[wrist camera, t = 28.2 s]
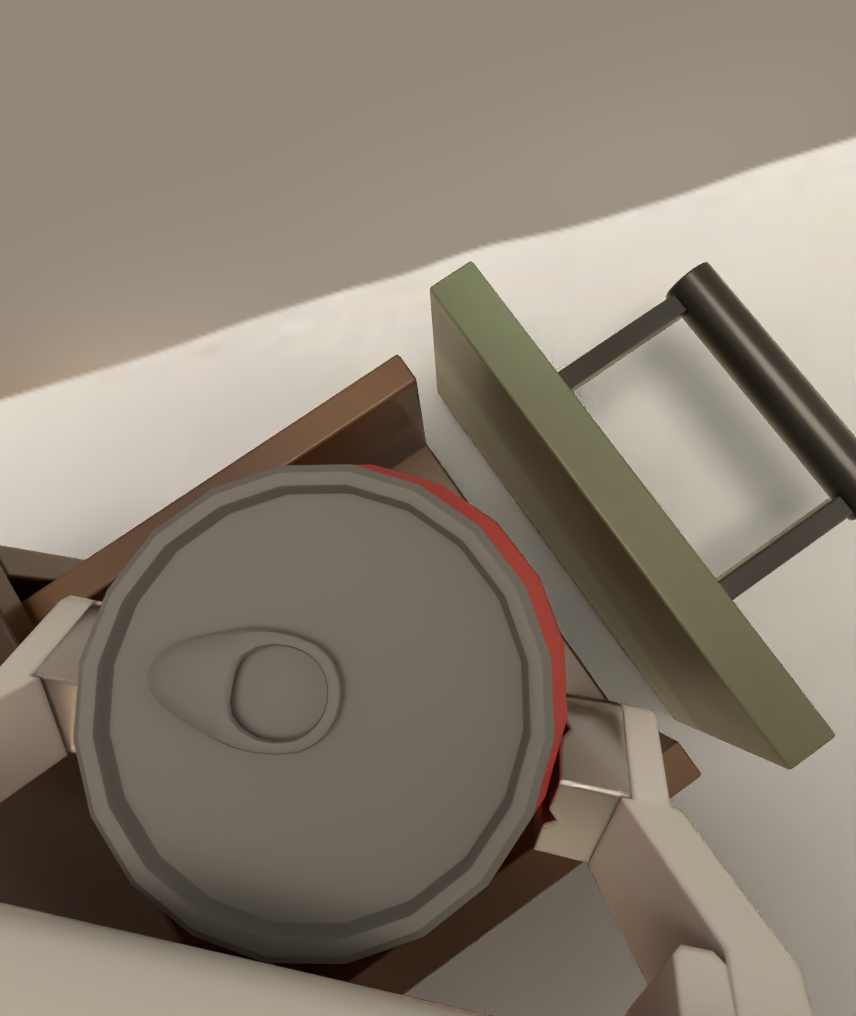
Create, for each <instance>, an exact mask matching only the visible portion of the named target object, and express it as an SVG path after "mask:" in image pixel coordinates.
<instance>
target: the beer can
mask: <svg viewBox="0 0 856 1016" xmlns="http://www.w3.org/2000/svg"><path fill="white" fill-rule="evenodd" d="M566 721H567V698H566V676H565V654H564V643H563V640H562V637H561V635H560V632H559V629H558V626H557V624H556V621H555V618H554V616H553V613H552V610H551V607H550V605H549V602H548V599H547V596H546V594H545V591H544V588H543V586H542V583H541V580H540V577H539V576H538V575H537V574H536V572H535V571H534V570H533V568H532V567H531V566H530V565H529V563H528V562H527V561H526V559H525V558H524V557H523V556H522V554H521V553H520V552H519V550H518V549H517V548H516V546H515V545H514V544H513V543H512V541H511V540H510V539H509V537H508V536H507V535H506V534H505V532H504V531H503V530H502V528H501V527H500V526H499V525H498V523H497V522H495V521H494V520H492V519H491V518H489V517H488V516H486V515H485V514H484V513H482V512H481V511H479V510H478V509H476V508H475V507H473V506H472V505H470V504H469V503H467V502H466V501H465V500H463V499H462V498H460V497H459V496H457V495H456V494H454V493H453V492H451V491H450V490H449V489H447V488H446V487H444V486H443V485H441V484H437V483H434V482H431V481H427V480H424V479H421V478H417V477H414V476H410V475H407V474H404V473H400V472H397V471H394V470H390V469H387V468H384V467H380V466H376V465H371V464H370V465H352V464H339V465H289V466H278V467H275V468H272V469H269V470H266V471H263V472H260V473H257V474H254V475H251V476H248V477H245V478H242V479H239V480H236V481H233V482H230V483H227V484H224V485H221V486H218V487H215V488H212V489H211V490H210V491H208V492H207V493H205V494H204V495H203V496H201V497H200V498H198V499H197V500H196V501H194V502H193V503H191V504H190V505H189V506H187V507H186V508H184V509H183V510H182V511H180V512H179V513H177V514H176V515H175V516H173V517H172V518H170V519H169V520H168V521H166V522H165V523H163V524H162V525H161V526H159V527H158V528H156V529H155V530H154V531H152V533H151V534H150V535H149V537H148V538H147V539H146V541H145V542H144V543H143V544H142V546H141V547H140V548H139V550H138V551H137V552H136V553H135V555H134V556H133V557H132V559H131V560H130V561H129V562H128V564H127V565H126V566H125V568H124V569H123V570H122V572H121V573H120V574H119V575H118V577H117V578H116V579H115V581H114V582H113V583H112V584H111V586H110V587H109V588H108V590H107V591H106V594H105V597H104V599H103V602H102V604H101V607H100V609H99V612H98V615H97V617H96V620H95V622H94V625H93V628H92V630H91V633H90V635H89V638H88V640H87V643H86V646H85V648H84V651H83V653H82V656H81V658H80V661H79V671H78V684H77V696H76V709H75V722H74V734H73V741H74V746H75V750H76V754H77V759H78V763H79V768H80V772H81V777H82V781H83V785H84V790H85V794H86V799H87V803H88V808H89V812H90V816H91V818H92V820H93V821H94V823H95V825H96V826H97V828H98V830H99V831H100V833H101V835H102V836H103V838H104V840H105V841H106V843H107V845H108V846H109V848H110V850H111V852H112V853H113V855H114V857H115V858H116V860H117V862H118V863H119V865H120V867H121V868H122V870H123V872H124V873H125V875H126V877H127V878H128V880H129V882H130V883H131V885H133V886H134V887H135V888H136V889H137V890H138V891H140V892H141V893H142V894H143V895H144V896H146V897H147V898H148V899H149V900H150V901H151V902H153V903H154V904H155V905H156V906H157V907H159V908H160V909H161V910H162V911H163V912H164V913H166V914H167V915H168V916H169V917H170V918H171V919H173V920H174V921H175V922H176V923H177V924H179V925H180V926H181V927H182V928H183V929H184V930H186V931H187V932H188V933H189V934H190V935H192V936H195V937H197V938H200V939H203V940H205V941H208V942H211V943H213V944H216V945H219V946H221V947H224V948H227V949H229V950H232V951H235V952H237V953H240V954H243V955H245V956H248V957H251V958H253V959H256V960H259V961H261V962H264V963H293V964H348V963H351V962H353V961H356V960H359V959H362V958H365V957H368V956H371V955H373V954H376V953H379V952H382V951H385V950H388V949H390V948H393V947H396V946H399V945H402V944H405V943H408V942H410V941H413V940H416V939H419V938H422V937H424V936H425V935H426V934H428V933H429V932H430V931H431V930H433V929H434V928H435V927H437V926H438V925H439V924H440V923H442V922H443V921H444V920H445V919H447V918H448V917H449V916H450V915H452V914H453V913H454V912H455V911H457V910H458V909H459V908H460V907H462V906H463V905H464V904H465V903H467V902H468V901H469V900H470V899H472V898H473V897H474V896H475V895H477V894H478V893H479V892H480V891H482V890H483V889H484V888H485V887H487V886H488V885H489V883H490V882H491V880H492V879H493V877H494V875H495V874H496V872H497V871H498V869H499V868H500V866H501V865H502V863H503V862H504V860H505V859H506V857H507V855H508V854H509V852H510V851H511V849H512V848H513V846H514V845H515V843H516V842H517V840H518V839H519V837H520V835H521V834H522V832H523V831H524V829H525V828H526V826H527V825H528V823H529V822H530V820H531V819H532V817H533V815H534V813H535V812H536V810H537V809H538V807H539V806H540V804H541V803H542V801H543V800H544V798H545V796H546V793H547V791H548V788H549V784H550V780H551V776H552V772H553V768H554V764H555V761H556V757H557V753H558V749H559V745H560V742H561V738H562V736H563V732H564V728H565V724H566Z"/></svg>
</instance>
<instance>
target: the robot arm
mask: <svg viewBox="0 0 856 1016" xmlns="http://www.w3.org/2000/svg"><path fill="white" fill-rule="evenodd" d="M101 604H102V602H101V601H96V600H91V599H86V598H81V597H77V596H72V595H70V596H68V597H66V598H64V599H62V600H60V601H59V602H58V603H57V604H56V605H55V606H54V608H53V609H52V610H51V611H50V612H49V613H48V614H47V615H46V616H45V617H44V619H43V620H42V621H41V622H40V623H39V624H38V625H37V626H36V627H35V629H34V630H33V631H32V632H31V633H30V634H29V635H28V636H27V637H26V639H25V640H24V641H23V642H22V643H21V644H20V645H19V646H18V647H17V648H16V650H15V651H14V652H13V653H12V654H11V655H10V656H9V657H8V658H7V660H6V661H5V662H4V663H3V664H2V665H1V666H0V803H1V802H2V801H3V800H5V799H6V798H8V797H9V796H10V795H12V794H13V793H15V792H16V791H18V790H19V789H20V788H22V787H23V786H25V785H26V784H27V783H29V782H30V781H32V780H33V779H35V778H36V777H37V776H39V775H40V774H42V773H43V772H44V771H46V770H47V769H49V768H50V767H51V766H53V765H54V764H56V763H57V762H59V761H60V760H61V759H63V758H64V757H66V756H67V752H70V753H76V750H75V746H74V741H73V734H74V722H75V709H76V696H77V684H78V671H79V661H80V658H81V656H82V653H83V651H84V648H85V646H86V643H87V640H88V638H89V635H90V633H91V630H92V628H93V625H94V622H95V620H96V617H97V615H98V612H99V609H100V607H101ZM566 698H567V721H566V724H565V728H564V732H563V736H562V738H561V742H560V745H559V749H558V753H557V757H556V761H555V764H554V768H553V772H552V776H551V780H550V784H549V788H548V791H547V793H546V796H545V798H544V800H543V801H542V803H541V804H540V806H539V807H538V809H537V810H536V812H535V813H534V850H537V851H541V852H545V853H550V854H554V855H558V856H562V857H566V858H570V859H575V860H579V861H583V862H587V863H589V864H588V867H589V869H590V871H591V873H592V875H593V877H594V879H595V881H596V883H597V885H598V887H599V889H600V891H601V893H602V895H603V897H604V899H605V901H606V903H607V905H608V907H609V909H610V911H611V912H612V914H613V916H614V918H615V920H616V922H617V924H618V926H619V928H620V930H621V932H622V934H623V936H624V938H625V940H626V942H627V944H628V946H629V948H630V950H631V952H632V954H633V956H634V958H635V960H636V962H637V964H638V966H639V968H640V970H641V972H642V974H643V976H644V978H645V980H646V982H647V983H648V986H647V987H646V988H645V990H644V991H643V992H642V993H641V995H640V996H639V997H638V999H637V1000H636V1001H635V1002H634V1004H633V1005H632V1006H631V1007H630V1009H629V1010H628V1011H627V1012H626V1014H625V1015H624V1016H813V1014H812V1010H811V1006H810V1002H809V999H808V995H807V991H806V987H805V984H804V980H803V976H802V972H801V968H800V967H799V966H798V964H797V963H796V962H795V960H794V959H793V958H792V956H791V955H790V954H789V952H788V951H787V950H786V948H785V947H784V946H783V944H782V943H781V942H780V940H779V939H778V938H777V937H776V935H775V934H774V933H773V931H772V930H771V929H770V927H769V926H768V925H767V923H766V922H765V921H764V919H763V918H762V917H761V915H760V914H759V913H758V911H757V910H756V909H755V907H754V906H753V905H752V903H751V902H750V901H749V899H748V898H747V897H746V895H745V894H744V893H743V891H742V890H741V889H740V888H739V886H738V885H737V884H736V882H735V881H734V880H733V878H732V877H731V876H730V874H729V873H728V872H727V870H726V869H725V868H724V866H723V865H722V864H721V862H720V861H719V860H718V858H717V857H716V856H715V854H714V853H713V852H712V850H711V849H710V848H709V846H708V845H707V844H706V842H705V841H704V840H703V839H702V837H701V836H700V835H699V833H698V832H697V831H696V829H695V828H694V827H693V825H692V824H691V823H690V821H689V820H688V819H687V817H686V816H685V815H684V813H683V812H682V811H681V809H677V808H673V807H670V801H669V795H668V788H667V782H666V775H665V769H664V763H663V756H662V750H661V744H660V737H659V731H658V724H657V718H656V715H655V713H654V712H653V710H651V709H646V708H641V707H636V706H631V705H626V704H618V702H613V701H607V700H602V699H596V698H591V697H585V696H580V695H574V694H569V693H566ZM0 1016H492V1015H487V1014H483V1013H479V1012H474V1011H470V1010H466V1009H461V1008H457V1007H453V1006H448V1005H444V1004H440V1003H435V1002H431V1001H427V1000H422V999H418V998H414V997H409V996H405V995H401V994H396V993H392V992H388V991H383V990H379V989H375V988H370V987H366V986H362V985H357V984H353V983H349V982H344V981H340V980H336V979H331V978H327V977H323V976H318V975H314V974H310V973H305V972H301V971H297V970H292V969H288V968H284V967H279V966H275V965H271V964H266V963H262V962H258V961H253V960H249V959H245V958H240V957H236V956H232V955H227V954H223V953H219V952H214V951H210V950H206V949H201V948H197V947H193V946H188V945H184V944H180V943H175V942H171V941H167V940H162V939H158V938H154V937H149V936H145V935H141V934H136V933H132V932H128V931H123V930H119V929H115V928H110V927H106V926H102V925H97V924H93V923H89V922H84V921H80V920H76V919H71V918H67V917H63V916H58V915H54V914H50V913H45V912H41V911H37V910H32V909H28V908H24V907H19V906H15V905H11V904H6V903H2V902H0Z"/></svg>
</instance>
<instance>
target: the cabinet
mask: <svg viewBox="0 0 856 1016" xmlns="http://www.w3.org/2000/svg"><path fill="white" fill-rule="evenodd" d="M83 561H85V560H83V559H77V558H71V557H65V556H59V555H54V554H48V553H42V552H36V551H30V550H24V549H18V548H12V547H7V546H1V545H0V666H1V665H2V664H3V663H4V662H5V661H6V660H7V658H8V657H9V656H10V655H11V654H12V653H13V652H14V651H15V650H16V648H17V647H18V646H19V645H20V644H21V643H22V642H23V641H24V640H25V639H26V637H27V636H28V635H29V634H30V633H31V632H32V631H33V630H34V629H35V627H34V625H33V623H32V621H31V620H30V618H29V616H28V614H27V612H26V611H25V609H24V607H23V605H22V603H21V602H23V601H24V600H26V599H27V598H29V597H30V596H32V595H33V594H35V593H36V592H38V591H39V590H41V589H42V588H44V587H45V586H47V585H48V584H50V583H51V582H53V581H54V580H56V579H58V578H59V577H61V576H62V575H64V574H65V573H67V572H68V571H70V570H71V569H73V568H74V567H76V566H77V565H79V564H80V563H82V562H83ZM0 902H2V903H6V904H11V905H15V906H19V907H24V908H28V909H32V910H37V911H41V912H45V913H50V914H54V915H58V916H63V917H67V918H71V919H76V920H80V921H84V922H89V923H93V924H97V925H102V926H106V927H110V928H115V929H119V930H123V931H128V932H132V933H136V934H141V935H145V936H149V937H154V938H158V939H162V940H167V941H171V942H175V943H180V944H184V945H188V946H193V947H197V948H201V949H206V950H210V951H214V952H215V950H214V949H213V947H212V945H211V943H210V942H208V941H205V940H203V939H200V938H197V937H195V936H192V935H190V934H189V933H188V932H187V931H186V930H184V929H183V928H182V927H181V926H180V925H179V924H177V923H176V922H175V921H174V920H173V919H171V918H170V917H169V916H168V915H167V914H166V913H164V912H163V911H162V910H161V909H160V908H159V907H157V906H156V905H155V904H154V903H153V902H151V901H150V900H149V899H148V898H147V897H146V896H144V895H143V894H142V893H141V892H140V891H138V890H137V889H136V888H135V887H134V886H133V885H131V883H130V882H129V880H128V878H127V877H126V875H125V873H124V872H123V870H122V868H121V867H120V865H119V863H118V862H117V860H116V858H115V857H114V855H113V853H112V852H111V850H110V848H109V846H108V845H107V843H106V841H105V840H104V838H103V836H102V835H101V833H100V831H99V830H98V828H97V826H96V825H95V823H94V821H93V820H92V818H91V816H90V812H89V808H88V803H87V799H86V794H85V790H84V785H83V781H82V777H81V772H80V768H79V763H78V759H77V754H76V753H70V752H67V756H66V757H64V758H63V759H61V760H60V761H59V762H57V763H56V764H54V765H53V766H51V767H50V768H49V769H47V770H46V771H44V772H43V773H42V774H40V775H39V776H37V777H36V778H35V779H33V780H32V781H30V782H29V783H27V784H26V785H25V786H23V787H22V788H20V789H19V790H18V791H16V792H15V793H13V794H12V795H10V796H9V797H8V798H6V799H5V800H3V801H2V802H1V803H0Z"/></svg>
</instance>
